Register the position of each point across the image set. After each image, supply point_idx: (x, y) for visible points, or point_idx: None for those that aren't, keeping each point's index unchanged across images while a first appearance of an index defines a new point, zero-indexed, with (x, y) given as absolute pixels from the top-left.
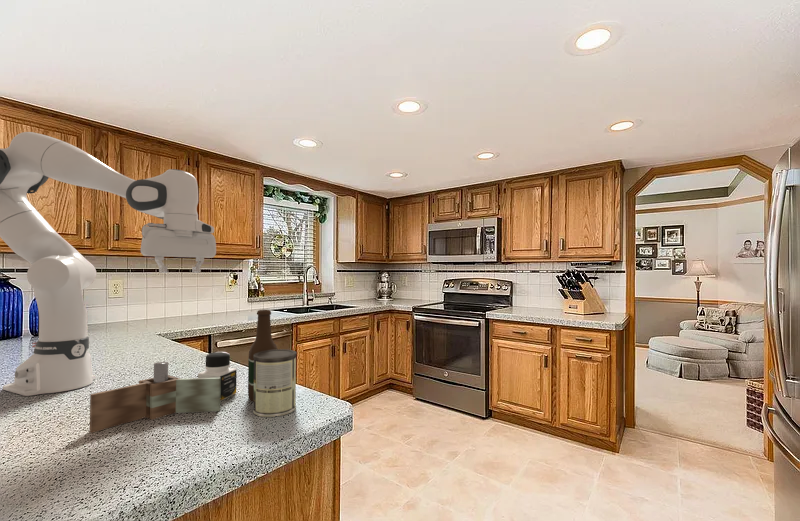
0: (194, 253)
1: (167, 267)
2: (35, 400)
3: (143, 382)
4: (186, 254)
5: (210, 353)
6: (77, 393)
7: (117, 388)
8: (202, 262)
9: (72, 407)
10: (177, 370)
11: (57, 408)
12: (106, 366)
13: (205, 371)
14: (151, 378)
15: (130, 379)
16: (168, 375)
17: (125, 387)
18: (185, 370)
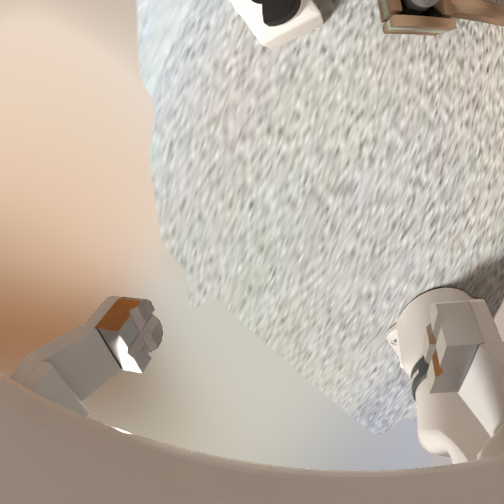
0: (35, 437)
1: (444, 337)
2: (491, 272)
3: (452, 8)
4: (144, 469)
5: (279, 5)
6: (448, 263)
7: (497, 11)
8: (44, 349)
9: (487, 181)
10: (264, 281)
11: (499, 196)
12: (336, 385)
13: (301, 11)
14: (432, 22)
15: (354, 285)
16: (396, 15)
17: (486, 3)
18: (253, 269)
